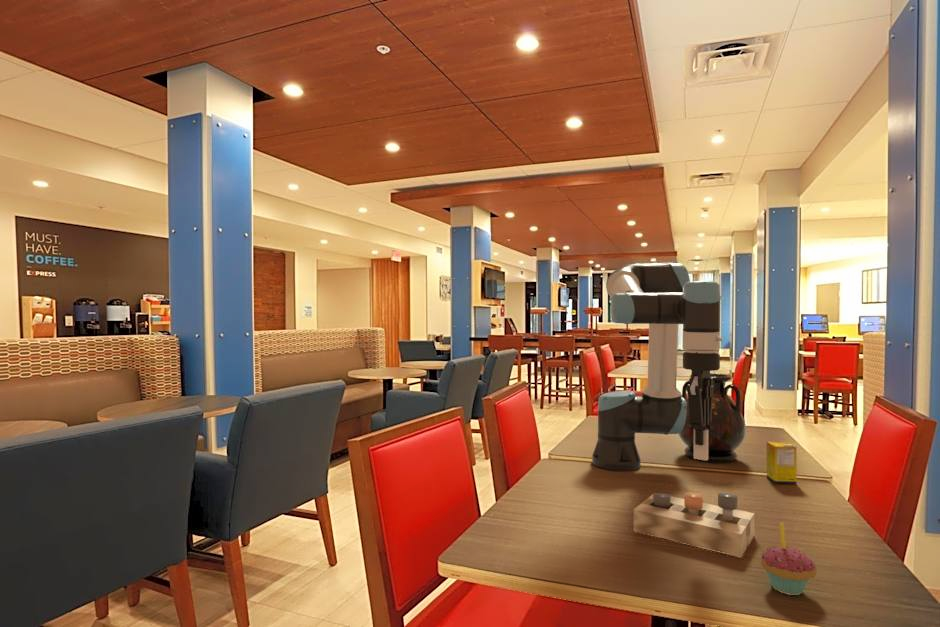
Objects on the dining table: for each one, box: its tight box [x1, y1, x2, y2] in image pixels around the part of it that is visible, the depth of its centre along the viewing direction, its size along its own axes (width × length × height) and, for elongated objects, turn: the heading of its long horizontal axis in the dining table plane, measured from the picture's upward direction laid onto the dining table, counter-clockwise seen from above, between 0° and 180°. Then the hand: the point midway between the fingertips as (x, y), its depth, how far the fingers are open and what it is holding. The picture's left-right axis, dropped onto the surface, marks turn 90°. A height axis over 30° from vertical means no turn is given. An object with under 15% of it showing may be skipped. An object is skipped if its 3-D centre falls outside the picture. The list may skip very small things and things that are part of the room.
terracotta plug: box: [683, 492, 704, 516], centre depth 121 cm, size 4×4×5 cm
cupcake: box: [760, 517, 817, 594], centre depth 96 cm, size 9×8×12 cm
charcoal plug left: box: [653, 492, 671, 509], centre depth 125 cm, size 4×4×5 cm
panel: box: [633, 492, 755, 556], centre depth 121 cm, size 22×14×5 cm, turn 53°
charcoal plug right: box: [717, 492, 739, 521], centre depth 116 cm, size 4×4×5 cm
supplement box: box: [766, 441, 798, 485], centre depth 158 cm, size 6×6×11 cm
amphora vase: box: [677, 372, 747, 463], centre depth 184 cm, size 22×22×28 cm
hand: (700, 458), depth 119 cm, fingers closed
